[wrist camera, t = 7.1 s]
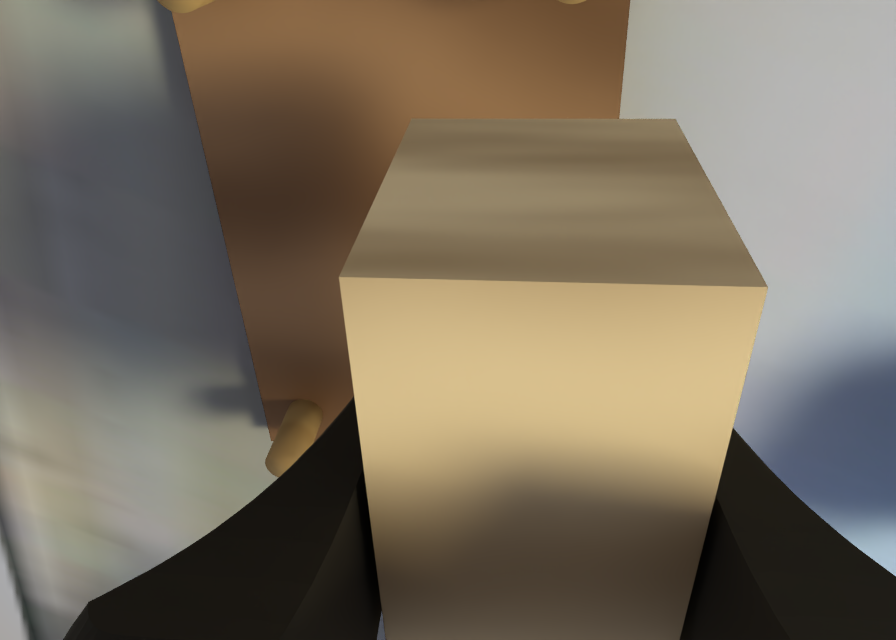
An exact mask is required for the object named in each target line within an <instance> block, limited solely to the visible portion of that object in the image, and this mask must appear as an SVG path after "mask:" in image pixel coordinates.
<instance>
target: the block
mask: <svg viewBox="0 0 896 640" xmlns="http://www.w3.org/2000/svg"><path fill="white" fill-rule="evenodd" d="M339 282H340V290H341V298H342V305H343V313H344V321H345V328H346V336H347V344H348V352H349V359H350V367H351V375H352V383H353V390H354V398H355V406H356V413H357V421H358V429H359V437H360V444H361V452H362V460H363V468H364V475H365V483H366V491H367V498H368V506H369V514H370V522H371V529H372V537H373V545H374V552H375V560H376V568H377V576H378V583H379V591H380V599H381V607H382V614H383V622H384V630H385V637H386V640H680V636H681V632H682V628H683V624H684V620H685V616H686V612H687V608H688V604H689V600H690V596H691V592H692V588H693V584H694V580H695V576H696V572H697V568H698V564H699V560H700V556H701V552H702V548H703V544H704V540H705V536H706V532H707V528H708V524H709V520H710V516H711V512H712V508H713V504H714V500H715V496H716V492H717V488H718V484H719V480H720V476H721V472H722V468H723V464H724V460H725V456H726V453H727V449H728V445H729V441H730V437H731V433H732V429H733V425H734V421H735V417H736V413H737V409H738V405H739V401H740V397H741V393H742V389H743V385H744V381H745V377H746V373H747V369H748V365H749V361H750V357H751V353H752V349H753V345H754V341H755V337H756V333H757V329H758V325H759V321H760V317H761V313H762V309H763V305H764V301H765V297H766V293H767V289H768V286H767V285H766V283H765V281H764V279H763V277H762V275H761V274H760V272H759V270H758V268H757V266H756V265H755V263H754V261H753V259H752V257H751V255H750V254H749V252H748V250H747V248H746V246H745V245H744V243H743V241H742V239H741V237H740V236H739V234H738V232H737V230H736V228H735V226H734V225H733V223H732V221H731V219H730V217H729V216H728V214H727V212H726V210H725V208H724V206H723V205H722V203H721V201H720V199H719V197H718V196H717V194H716V192H715V190H714V188H713V187H712V185H711V183H710V181H709V179H708V177H707V176H706V174H705V172H704V170H703V168H702V167H701V165H700V163H699V161H698V159H697V157H696V156H695V154H694V152H693V150H692V148H691V147H690V145H689V143H688V141H687V139H686V137H685V136H684V134H683V132H682V130H681V128H680V127H679V125H678V123H677V121H676V119H411V121H410V123H409V126H408V128H407V130H406V132H405V134H404V136H403V139H402V141H401V143H400V145H399V147H398V149H397V152H396V154H395V156H394V158H393V160H392V162H391V165H390V167H389V169H388V171H387V173H386V176H385V178H384V180H383V182H382V184H381V186H380V189H379V191H378V193H377V195H376V197H375V199H374V202H373V204H372V206H371V208H370V210H369V213H368V215H367V217H366V219H365V221H364V223H363V226H362V228H361V230H360V232H359V234H358V236H357V239H356V241H355V243H354V245H353V247H352V249H351V252H350V254H349V256H348V258H347V260H346V263H345V265H344V267H343V269H342V271H341V273H340V276H339Z"/></svg>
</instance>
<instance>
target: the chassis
mask: <svg viewBox="0 0 896 640" xmlns="http://www.w3.org/2000/svg"><path fill="white" fill-rule="evenodd" d="M157 1H158V2H159V3H160V4H161V5H162V6H164V7H165V8H167V9H168V10H170V11H172V15H173V20H174V24H175V28H176V32H177V37H178V41H179V45H180V50H181V54H182V58H183V63H184V67H185V71H186V76H187V80H188V84H189V89H190V93H191V97H192V101H193V106H194V110H195V114H196V119H197V123H198V127H199V132H200V136H201V140H202V145H203V149H204V153H205V157H206V162H207V166H208V170H209V175H210V179H211V183H212V188H213V192H214V196H215V201H216V205H217V209H218V214H219V218H220V222H221V226H222V231H223V235H224V239H225V244H226V248H227V252H228V257H229V261H230V265H231V270H232V274H233V278H234V282H235V287H236V291H237V295H238V300H239V304H240V308H241V313H242V317H243V321H244V326H245V330H246V334H247V338H248V343H249V347H250V351H251V356H252V360H253V364H254V369H255V373H256V377H257V382H258V386H259V390H260V395H261V399H262V403H263V407H264V412H265V416H266V420H267V425H268V429H269V433H270V438H271V441H274V442H273V444H272V446H271V448H270V451H269V453H268V455H267V458H266V460H265V464H266V467H267V469H268V470H269V471H270V472H271V473H272V474H273V475H275V476H277V477H280V476H281V475H282V474H283V473H284V472H285V471H286V470H287V469H288V468H290V467H291V466H292V465H293V464H294V463H295V462H296V461H297V460H298V458H299V457H300V456H301V455H302V454H303V453H304V452H305V451H306V450H307V449H308V448H309V447H310V446H311V445H312V444H313V443H314V442H315V441H316V440H317V439H318V438H319V437H320V436H321V434H322V433H323V432H324V431H325V430H326V429H327V428H328V426H329V425H330V424H331V423H332V422H333V421H334V419H335V418H336V417H337V416H338V415H339V414H340V413H341V411H342V410H343V409H344V408H345V407H346V405H347V404H348V403H349V402H350V400H351V399H352V398H353V397H354V390H353V383H352V375H351V367H350V359H349V352H348V344H347V336H346V328H345V321H344V313H343V305H342V298H341V290H340V282H339V276H340V273H341V271H342V269H343V267H344V265H345V263H346V260H347V258H348V256H349V254H350V252H351V249H352V247H353V245H354V243H355V241H356V239H357V236H358V234H359V232H360V230H361V228H362V226H363V223H364V221H365V219H366V217H367V215H368V213H369V210H370V208H371V206H372V204H373V202H374V199H375V197H376V195H377V193H378V191H379V189H380V186H381V184H382V182H383V180H384V178H385V176H386V173H387V171H388V169H389V167H390V165H391V162H392V160H393V158H394V156H395V154H396V152H397V149H398V147H399V145H400V143H401V141H402V139H403V136H404V134H405V132H406V130H407V128H408V126H409V123H410V121H411V119H619V113H620V103H621V92H622V81H623V71H624V60H625V50H626V39H627V28H628V18H629V7H630V0H157Z"/></svg>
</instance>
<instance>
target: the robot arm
mask: <svg viewBox="0 0 896 640" xmlns="http://www.w3.org/2000/svg"><path fill="white" fill-rule="evenodd" d="M381 612H382V607H381V599H380V591H379V583H378V576H377V568H376V560H375V552H374V545H373V537H372V529H371V522H370V514H369V506H368V498H367V491H366V483H365V475H364V468H363V460H362V452H361V444H360V437H359V429H358V421H357V413H356V406H355V398H354V397H353V398H352V399H351V400H350V402H349V403H348V404H347V405H346V407H345V408H344V409H343V410H342V411H341V413H340V414H339V415H338V416H337V417H336V418H335V419H334V421H333V422H332V423H331V424H330V425H329V426H328V428H327V429H326V430H325V431H324V432H323V433H322V434H321V436H320V437H319V438H318V439H317V440H316V441H315V442H314V443H313V444H312V445H311V446H310V447H309V448H308V449H307V450H306V451H305V452H304V453H303V454H302V455H301V456H300V457H299V458H298V460H297V461H296V462H295V463H294V464H293V465H292V466H291V467H290V468H288V469H287V470H286V471H285V472H284V473H283V474H282V475H281V476H280V477H279V478H278V479H277V480H276V481H274V482H273V483H272V484H271V485H270V486H269V487H268V488H266V489H265V490H264V491H263V492H262V493H261V494H259V495H258V496H257V497H256V498H255V499H254V500H252V501H251V502H250V503H249V504H247V505H246V506H245V507H243V508H242V509H241V510H240V511H238V512H237V513H236V514H234V515H233V516H232V517H230V518H229V519H228V520H226V521H225V522H224V523H222V524H221V525H219V526H218V527H217V528H215V529H214V530H213V531H211V532H210V533H208V534H207V535H205V536H204V537H202V538H201V539H199V540H198V541H196V542H195V543H193V544H192V545H190V546H189V547H187V548H186V549H184V550H182V551H181V552H179V553H177V554H176V555H174V556H172V557H171V558H169V559H168V560H166V561H164V562H163V563H161V564H159V565H157V566H156V567H154V568H152V569H151V570H149V571H147V572H145V573H143V574H141V575H140V576H138V577H136V578H134V579H132V580H130V581H128V582H126V583H124V584H123V585H121V586H119V587H117V588H115V589H113V590H111V591H109V592H107V593H106V594H104V595H102V596H100V597H98V598H96V599H94V600H92V601H90V602H88V604H87V605H86V607H85V608H84V610H83V611H82V613H81V614H80V615H79V617H78V618H77V619H76V621H75V622H74V624H73V625H72V626H71V628H70V629H69V631H68V633H67V634H66V636H65V638H64V639H63V640H377V634H378V628H379V621H380V616H381ZM680 640H896V576H894V575H893V574H892V573H890V572H889V571H887V570H886V569H885V568H883V567H882V566H881V565H879V564H878V563H877V562H875V561H874V560H873V559H871V558H870V557H869V556H867V555H866V554H865V553H863V552H862V551H861V550H859V549H858V548H857V547H855V546H854V545H853V544H852V543H850V542H849V541H848V540H847V539H845V538H844V537H843V536H842V535H840V534H839V533H838V532H837V531H836V530H835V529H833V528H832V527H831V526H830V525H829V524H828V523H826V522H825V521H824V520H823V519H822V518H821V517H819V516H818V515H817V514H816V513H815V512H814V511H813V510H811V509H810V508H809V507H808V506H807V505H806V504H805V503H804V502H803V501H801V500H800V499H799V498H798V497H797V496H796V495H795V494H794V493H793V492H792V491H791V490H790V489H789V488H788V487H787V486H786V485H785V484H784V483H783V482H782V481H781V480H780V479H779V478H778V477H777V476H776V475H775V474H774V473H773V472H772V471H771V470H770V469H769V468H768V466H767V465H766V464H765V463H764V462H763V461H762V460H761V459H760V458H759V457H758V456H757V454H756V453H755V452H754V451H753V450H752V449H751V448H750V447H749V445H748V444H747V443H746V442H745V441H744V440H743V439H742V438H741V436H740V435H739V434H738V433H737V432H736V431H735V429H734V428H733V429H732V433H731V437H730V441H729V445H728V449H727V453H726V456H725V460H724V464H723V468H722V472H721V476H720V480H719V484H718V488H717V492H716V496H715V500H714V504H713V508H712V512H711V516H710V520H709V524H708V528H707V532H706V536H705V540H704V544H703V548H702V552H701V556H700V560H699V564H698V568H697V572H696V576H695V580H694V584H693V588H692V592H691V596H690V600H689V604H688V608H687V612H686V616H685V620H684V624H683V628H682V632H681V636H680Z"/></svg>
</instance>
